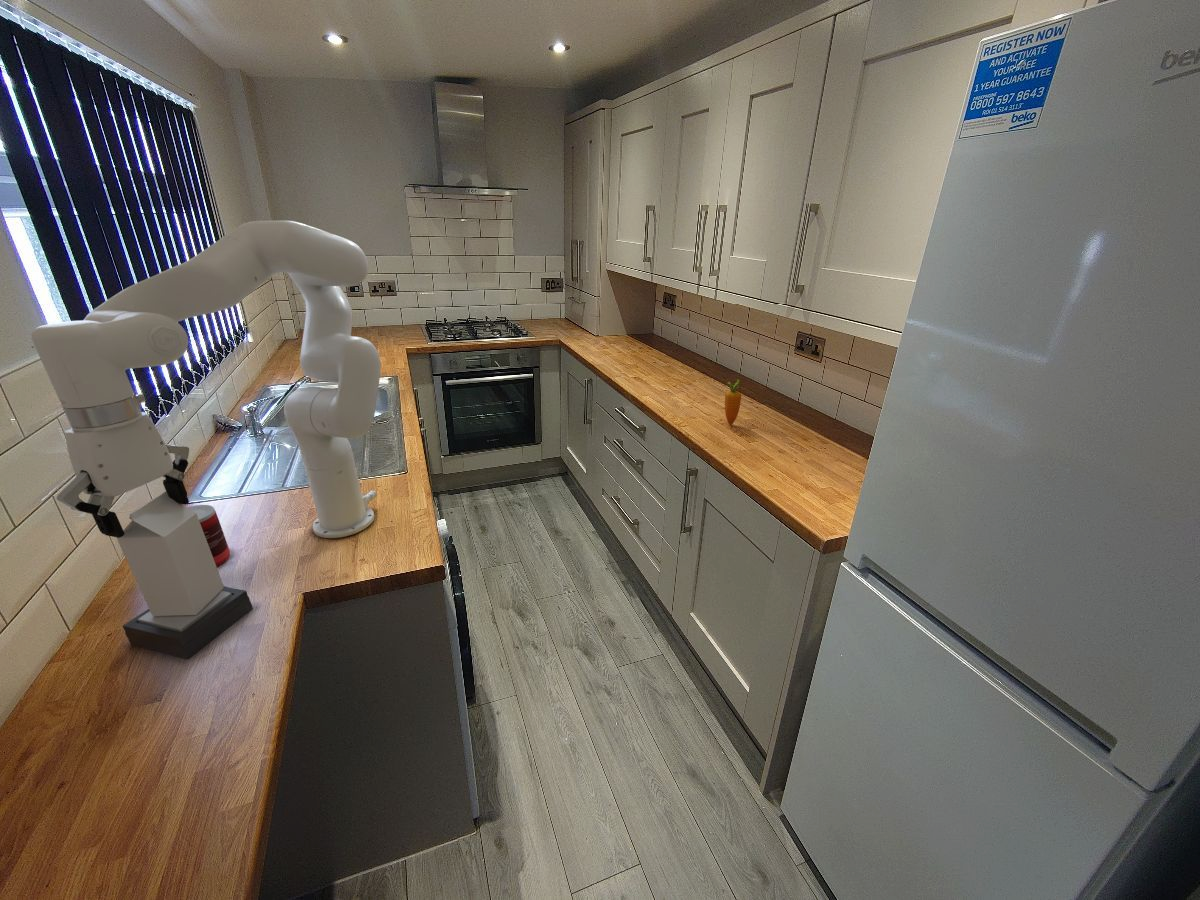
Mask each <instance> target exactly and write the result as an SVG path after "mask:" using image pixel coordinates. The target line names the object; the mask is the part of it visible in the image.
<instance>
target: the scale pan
mask: <svg viewBox="0 0 1200 900" xmlns="http://www.w3.org/2000/svg"><path fill="white" fill-rule="evenodd" d="M231 596H232V593H230V592H225V591H220V592H219V593H218V594H217V595H216V596H215V597H214V598H213V599H212V600H211V601H210V602H209V603H208V604H207V605H206V606H205V607H204V608H203V609H202V610H201V611H200V612H199V613H198V614H197V615H176V616H152V614H151V612H148V613H146V614H145V615H143V616H142V617H140V618H139V619H138V621H139V623H142V624H146V625H150V626H154V627H159V628H163V629H167V630H171V631H175V632H180V633H181V632H183V631H184V630H185V629H187V628H188V627H190V626H191V625H192V624H194V623H195V622H197V621H198V620H199V619H201V618H202V617H203V616H205V615H206V614H208V613H209V612H210V611H212V610H213V609H215V608H216V607H217V606H219V605H220V604H221V603H223V602H224V601H226V600H227V599H228V598H230V597H231Z"/></svg>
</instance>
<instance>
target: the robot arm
mask: <svg viewBox="0 0 1200 900" xmlns="http://www.w3.org/2000/svg"><path fill="white" fill-rule="evenodd" d="M279 273H280V274H281V273H282V274H287V276H288V277H289V278H290V279H291V281H292V282H293V283H294V284H295V286H296V288H297V289H298V290H299V292H300V294H301V296H302V298H303V301H304V305H305V319H304V327H303V332H302V333H303V334H302V340H301V347H300V354H299V366H300V368H301V369H300V370H301V371H302V373H303V374H304V375H305V376H307V378H310V379H312V380H316V381H319V382H327V383H335V384H336V383H337V389H336V388H330V387H321V386H305V387H300V388H298V389H296V390H294V391H292V392H291V393H290V394H289V395H288V396H287V398H286V399H285V402H284V406H283V413H284V418H285V420H286V423H287V425H288V428H289V429H290V431H291V433H292V435H293V437H294V439H295V441H296V444H297V446H298V449H299V453H300V454H301V459H302V463H303V467H304V470H305V474H306V478H307V482H308V486H309V490H310V492H311V497H312V501H313V504H314V507H315V511H316V514H317V518H315V520H314V521H313V523H312V531H313V533H314V534H315V536H317V537H320V538H324V539H339V538H344V537H348V536H352V535H355V534H357V533H360V532H362V531H363V530H365V529H367V528H368V527H369V526H371V524H373V522H374V520H375V513H374V510H373V509H372V508H371V507H369V505H370V502H371V501H372V500H374V499H375V498H377V496H378V494H377V492H376V490H374V489H371V490H370V491H368V492H367V493H365V494H364V493H363V492H362V489H361V484H360V481H359V476H358V470H357V467H356V463H355V458H354V453H353V449H352V446H351V443H350V441H349V439H359V438H361V437H363V436H364V435H366V434H367V433H368V432H369V431H370V429H371V427H372V425H373V422H374V418H375V413H376V408H377V401H378V393H379V386H380V380H381V373H382V372H381V371H382V365H381V364H382V363H381V357H380V354H379V351H378V349H377V348H376V346H375V345H374V344H373V342H371V341H370V340H368V339H367V338H365V337H361V336H355V335H352V328H353V310H352V306H351V304H350V302H349V300H348V297H347V296H346V294H345V293H344V291H343V290H342V287H343V288H344V287H346V288H349V287H355V286H358V285H360V284H362V282H364V281H365V279H366V277H367V276H368V273H369V261H368V258H367V256H366V254H365V252H364V251H363V249H362V248H361V247H360V246H359V245H358V244H357V243H355V242H353V241H352V240H351V239H348V238H345V237H342V236H339V235H336V234H334V233H331V232H328V231H325V230H323V229H319V228H317V227H314V226H312V225H308V224H305V223H302V222H298V221H294V220H289V219H288V220H285V219H284V220H283V219H282V220H251V221H248V222H245V223H242V224H240V225H239V226H237V227H235V228H233V230H231V231H230V232H228V233H227V234H225V235H224V236H223V237H221V238H220V239H218V240H216V241H214V243H212V244H211V245H209V246H208V247H207V248H205V249H203V250H202V251H201V252H199V253H198V254H196V255H195V256H193V257H192V258H190V259H188V260H187V261H185V262H183V263H180V264H177V265H175V266H171V267H170V268H167V269H166V270H164V271H161V272H159V273H156V274H155V275H153V276H150V277H147V278H145V279H143V280H141V281H138V282H137V283H133V284H132V285H130V286H128V287H126V288H124V289H122V290H121V291H119V292H117V293H116V294H115V295H113V296H111V297H110V298H108V299H107V300H106V301H104V302H102V303H101V304H100V305H98V306H97V307H95V308H94V309H92V310H91V311H90V312H89V313H88V314H86V316H85V317H84V319H83V320H67V321H59V322H53V323H47V324H43V325H39V326H37V327H36V328H34V329H33V330H32V333H31V341H32V343H33V346H34V348H35V350H36V352H37V354H38V357H39V359H40V361H41V364H42V365H43V368H44V369H45V372H46V374H47V376H48V378H49V380H50V383H51V385H52V387H53V389H54V391H55V394H56V396H57V398H58V400H59V402H60V404H61V407H62V410H63V411H64V414H65V416H66V419H67V421H68V422H69V424H70V427H71V428H69V429H66V430H65V431H64V434H65V441H66V448H67V449H66V450H67V453H68V457H69V460H70V463H71V466H72V469H73V472H74V475H75V478H74V479H73V480H72V481H70V482H69V484H68V485H67V486H66V487H64V489H62V491H60V492H59V493H58V494H57V496H56V500H57V501H59V502H61V503H62V504H64V505H65V506H67V507H69V508H70V509H71V510H73V511H78V512H82V513H86V514H90V515H92V518H93V519H94V522H95V524H96V526H97V528H98V530H99V532H100V533H101V534H102V535H104V536H107V537H112V538H116V539H117V538H120V537H122V536H124V534H125V533H124V531H123V530H124V529H123V527H122V524H121V522H120V520H119V518H118V514H117V513H116V512H114V511H110V509H111V507H112V505H113V502H114V500H115V498H116V497H118V496H121V495H123V494H126V493H128V492H130V491H133V490H135V489H137V488H140V487H141V486H145V485H147V484H149V483H151V482H154V481H155V480H158V479H160V478H164V479H163V480H162V484H163V487H164V490H165V492H167V494H168V497H169V498H171V499H173V500H174V501H176V502H177V503H178V504H182V505H183V506H185V505H187V504H189V503H190V500H189V498H188V492H187V488H186V486H185V483H184V481H183V480H184V479H185V478H186V474H185V472H186V470H187V468H188V466H189V461H188V459H189V454H190V448H189V447H188V446H184V445H174V444H172V445H171V444H166V442H165V441H164V439H163V437H162V434H161V433H160V431H159V430H158V428H157V426H156V425H155V424H154V422H153V421H152V419H151V417H149V415H148V414H147V413H146V412H144V411H141V410H142V407H141V404H143V403H145V402H146V397H145V395H144V394H142V393H135V392H134V390H133V387H132V385H131V382H130V379H129V377H128V374H127V373H126V371H127V370H132V369H139V368H149V367H151V368H152V367H158V366H159V367H160V366H165V365H168V364H172V363H174V362H176V361H178V360H179V359H181V358H182V357H183V356H184V354H185V353H186V351H187V349H188V347H189V336H188V334H187V332H186V330H185V328H184V327H183V326H182V325H181V324H180V323H179V322H181V321H184V320H185V321H186V320H187V319H190V318H194V317H199V316H204V315H208V314H209V315H210V314H213V313H217V312H220V311H224V310H227V309H230V308H232V307H233V308H234V307H235V306H236V305H238V304H239V303H241V302H242V301H243V300H245V298H247V297H248V296H249V295H250V294H251V293H253V292H254V291H256V289H258V288H259V287H260V286H261V285H262V284H264V283H265V282H266V281H268V280H269V279H270V278H272V276H274V275H276V274H279ZM171 454H174V460H172V459H173V458H172V456H171ZM82 492H83V494H85V495H90V496H89V498H88V500H87V502H86V501H84V500H82V499H81V498H80V495H81V493H82Z"/></svg>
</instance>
